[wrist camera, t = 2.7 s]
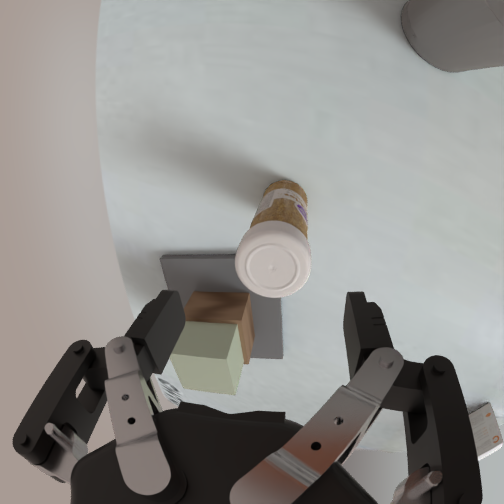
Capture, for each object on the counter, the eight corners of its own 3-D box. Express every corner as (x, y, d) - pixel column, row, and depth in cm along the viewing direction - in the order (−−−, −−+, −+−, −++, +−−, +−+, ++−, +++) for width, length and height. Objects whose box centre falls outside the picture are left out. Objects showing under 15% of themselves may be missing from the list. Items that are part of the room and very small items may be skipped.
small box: (464, 424, 45) (474, 463, 33) (463, 417, 43) (473, 459, 31) (490, 409, 41) (502, 447, 30) (490, 401, 40) (503, 442, 28)
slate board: (278, 253, 31) (277, 258, 30) (283, 353, 38) (282, 358, 37) (163, 255, 33) (159, 259, 32) (190, 347, 40) (188, 352, 40)
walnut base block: (249, 292, 33) (241, 320, 28) (255, 335, 36) (248, 364, 31) (193, 291, 34) (179, 317, 29) (204, 332, 37) (193, 359, 33)
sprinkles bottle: (316, 201, 27) (328, 270, 16) (284, 230, 29) (272, 312, 18) (283, 169, 26) (270, 215, 15) (252, 200, 28) (217, 266, 17)
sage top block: (237, 324, 28) (226, 359, 24) (243, 361, 31) (235, 395, 27) (184, 320, 30) (167, 352, 25) (196, 357, 32) (183, 388, 28)
